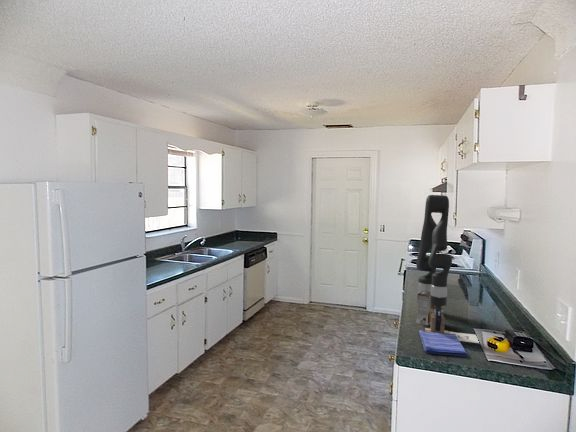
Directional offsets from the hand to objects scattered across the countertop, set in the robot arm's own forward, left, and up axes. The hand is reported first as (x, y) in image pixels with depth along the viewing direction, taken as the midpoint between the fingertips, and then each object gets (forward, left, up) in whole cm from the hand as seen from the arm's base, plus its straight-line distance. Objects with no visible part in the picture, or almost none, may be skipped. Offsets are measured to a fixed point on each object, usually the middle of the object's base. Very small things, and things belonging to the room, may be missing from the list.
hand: (437, 328), depth 190 cm
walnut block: (0, 0, -1) cm, 1 cm away
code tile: (+1, +12, -3) cm, 12 cm away
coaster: (0, 0, -3) cm, 3 cm away
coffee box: (-16, -5, -3) cm, 17 cm away
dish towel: (+16, +1, -3) cm, 16 cm away
